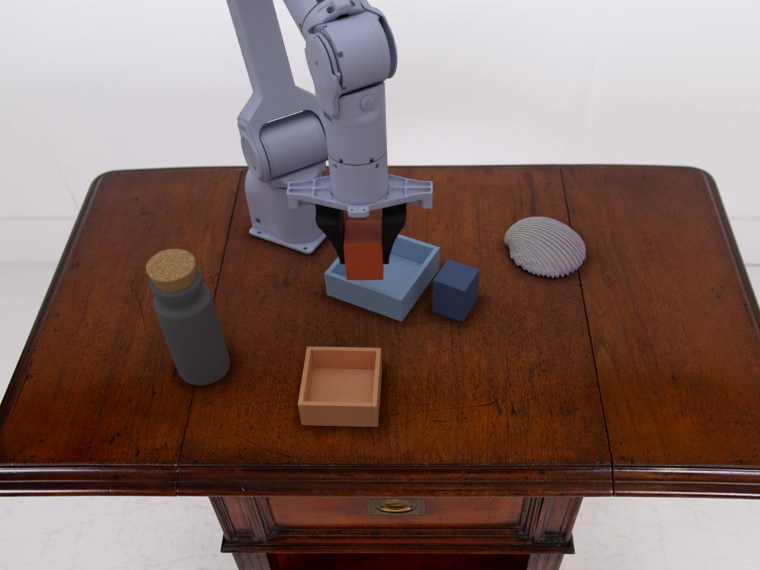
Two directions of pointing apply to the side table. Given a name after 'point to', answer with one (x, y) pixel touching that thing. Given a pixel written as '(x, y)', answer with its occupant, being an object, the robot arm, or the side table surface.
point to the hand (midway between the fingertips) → (364, 258)
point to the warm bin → (341, 386)
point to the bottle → (187, 317)
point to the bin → (389, 279)
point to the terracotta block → (363, 250)
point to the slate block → (455, 290)
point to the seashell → (545, 246)
